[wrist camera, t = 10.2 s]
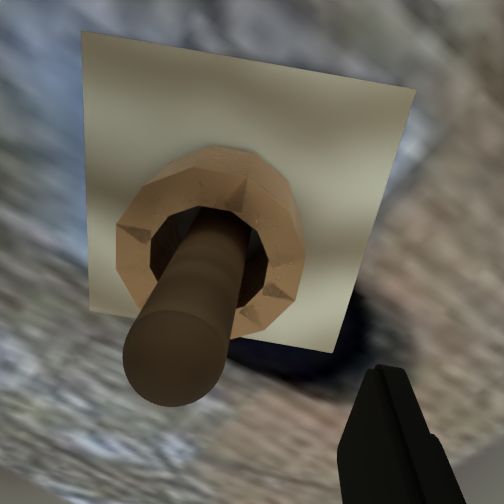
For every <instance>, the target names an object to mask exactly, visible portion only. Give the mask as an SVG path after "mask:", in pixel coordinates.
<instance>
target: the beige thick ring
mask: <svg viewBox="0 0 504 504" xmlns="http://www.w3.org/2000/svg"><path fill="white" fill-rule="evenodd" d="M198 205H199V206H204V207H210V208H216V209H221V210H227V211H232V212H233V213H234V214H236V215H237V216H238V217H240V218H241V219H242V220H243V221H245V222H246V223H247V224H248V225H250V226H251V227H252V228H254V229H255V230H256V231H257V232H258V234H259V236H260V239H261V241H262V244H263V246H264V248H263V250H262V251H261V252H260V253H259V254H258V255H257V256H256V257H255V258H254V259H253V260H252V261H250V262H247V263H245V266H244V271H243V276H242V281H241V286H240V291H239V296H238V301H237V306H236V311H235V316H234V321H233V326H232V331H231V336H230V339H233V338H237V337H241V336H245V335H248V334H252V333H256V332H260V331H263V330H265V329H266V328H267V327H268V326H269V325H270V324H271V323H272V322H273V321H274V320H276V319H277V318H278V317H279V316H280V315H281V314H282V313H283V312H284V311H285V310H286V309H287V308H288V307H289V306H290V305H291V304H292V303H293V302H295V301H296V296H297V292H298V288H299V284H300V280H301V276H302V272H303V268H304V264H305V260H306V252H305V244H304V235H303V227H302V219H301V216H300V213H299V210H298V207H297V205H296V202H295V199H294V196H293V193H292V190H291V187H290V184H289V181H288V180H287V179H285V178H284V177H283V176H282V175H281V174H279V173H278V172H277V171H276V170H275V169H273V168H272V167H271V166H270V165H269V164H268V163H266V162H265V161H264V160H263V159H262V158H260V157H259V156H258V155H257V154H256V153H252V152H246V151H240V150H235V149H229V148H223V147H218V146H209V147H207V148H204V149H202V150H199V151H196V152H194V153H191V154H189V155H186V156H183V157H181V158H178V159H176V160H173V161H172V162H170V163H169V164H168V165H167V166H166V167H164V168H163V169H162V170H161V171H160V172H159V173H157V174H156V175H155V176H154V177H153V178H151V179H150V180H149V181H148V182H147V183H145V184H144V185H143V186H142V188H141V189H140V191H139V192H138V193H137V195H136V196H135V198H134V199H133V201H132V202H131V203H130V205H129V206H128V208H127V209H126V211H125V212H124V213H123V215H122V216H121V218H120V219H119V221H118V222H117V223H116V270H117V272H118V274H119V276H120V277H121V279H122V281H123V282H124V284H125V286H126V288H127V289H128V291H129V293H130V294H131V296H132V298H133V300H134V301H135V303H136V305H137V306H138V308H139V309H140V310H142V308H143V306H144V305H145V303H146V301H147V300H148V298H149V296H150V295H151V293H152V291H153V289H154V288H155V286H156V284H157V283H158V281H159V279H160V278H161V276H162V274H163V272H164V271H165V269H166V267H167V266H168V264H169V262H170V261H171V259H172V257H173V255H174V254H175V252H176V250H177V249H178V247H179V245H180V244H181V242H182V239H181V237H180V235H179V233H178V231H177V229H176V220H177V213H178V212H181V211H184V210H187V209H190V208H193V207H195V206H198Z"/></svg>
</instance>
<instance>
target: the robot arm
mask: <svg viewBox="0 0 504 504" xmlns="http://www.w3.org/2000/svg"><path fill="white" fill-rule="evenodd" d="M337 465H338V472H339V480H340V487H341V495H342V502H343V504H466V502H465V499H464V497H463V495H462V492H461V490H460V487H459V485H458V483H457V480H456V478H455V476H454V473H453V471H452V468H451V466H450V463H449V461H448V459H447V456H446V454H445V451H444V449H443V447H442V445H441V443H440V441H439V439H438V438H437V437H436V436H435V435H434V434H430V432H429V429H428V427H427V424H426V422H425V419H424V417H423V414H422V412H421V409H420V407H419V404H418V402H417V399H416V397H415V394H414V392H413V389H412V387H411V384H410V382H409V379H408V377H407V374H406V372H405V370H404V369H402V368H398V367H393V366H387V365H381V364H377V365H376V366H375V368H374V370H373V369H368V370H367V371H366V373H365V376H364V379H363V381H362V384H361V387H360V389H359V392H358V395H357V397H356V400H355V402H354V405H353V408H352V410H351V413H350V416H349V418H348V421H347V424H346V426H345V429H344V432H343V434H342V437H341V440H340V442H339V445H338V450H337Z"/></svg>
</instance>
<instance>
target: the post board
mask: <svg viewBox="0 0 504 504" xmlns="http://www.w3.org/2000/svg"><path fill="white" fill-rule="evenodd" d="M81 37H82V71H83V104H84V138H85V171H86V205H87V238H88V272H89V305H90V310H91V311H96V312H102V313H108V314H113V315H119V316H125V317H130V318H136V320H135V322H134V323H133V325H132V327H131V329H130V330H129V333H128V335H127V337H126V340H125V343H124V347H123V367H124V371H125V374H126V376H127V379H128V381H129V383H130V384H131V386H132V387H133V388H134V390H135V391H136V392H137V393H138V394H139V395H140V396H141V397H143V398H144V399H146V400H148V401H149V402H151V403H154V404H157V405H160V406H166V407H179V406H184V405H187V404H191V403H193V402H195V401H197V400H199V399H200V398H202V397H203V396H205V395H206V394H207V393H208V392H209V391H210V390H211V389H212V388H213V387H214V386H215V384H216V383H217V381H218V380H219V378H220V376H221V374H222V372H223V369H224V365H225V361H226V356H227V351H228V346H229V341H230V336H231V331H232V326H233V321H234V316H235V311H236V306H237V301H238V296H239V291H240V286H241V281H242V276H243V271H244V266H245V263H247V262H250V261H252V260H253V259H254V258H255V257H256V256H257V255H258V254H259V253H260V252H261V251H262V250H263V248H264V246H263V244H262V241H261V239H260V236H259V234H258V232H257V231H256V230H255V229H254V228H252V227H251V226H250V225H248V224H247V223H246V222H245V221H243V220H242V219H241V218H240V217H238V216H237V215H236V214H234V213H233V212H232V211H227V210H221V209H216V208H210V207H204V206H199V205H198V206H195V207H193V208H190V209H187V210H184V211H181V212H178V213H177V220H176V229H177V231H178V233H179V235H180V237H181V239H182V242H181V244H180V245H179V247H178V249H177V250H176V252H175V254H174V255H173V257H172V259H171V261H170V262H169V264H168V266H167V267H166V269H165V271H164V272H163V274H162V276H161V278H160V279H159V281H158V283H157V284H156V286H155V288H154V289H153V291H152V293H151V295H150V296H149V298H148V300H147V301H146V303H145V305H144V306H143V308H142V310H140V309H139V308H138V306H137V305H136V303H135V301H134V300H133V298H132V296H131V294H130V293H129V291H128V289H127V288H126V286H125V284H124V282H123V281H122V279H121V277H120V276H119V274H118V272H117V270H116V223H117V222H118V221H119V219H120V218H121V216H122V215H123V213H124V212H125V211H126V209H127V208H128V206H129V205H130V203H131V202H132V201H133V199H134V198H135V196H136V195H137V193H138V192H139V191H140V189H141V188H142V186H143V185H144V184H145V183H147V182H148V181H149V180H150V179H151V178H153V177H154V176H155V175H156V174H157V173H159V172H160V171H161V170H162V169H163V168H164V167H166V166H167V165H168V164H169V163H170V162H172V161H173V160H176V159H178V158H181V157H183V156H186V155H189V154H191V153H194V152H196V151H199V150H202V149H204V148H207V147H209V146H218V147H223V148H229V149H235V150H240V151H246V152H252V153H256V154H257V155H258V156H259V157H260V158H262V159H263V160H264V161H265V162H266V163H268V164H269V165H270V166H271V167H272V168H273V169H275V170H276V171H277V172H278V173H279V174H281V175H282V176H283V177H284V178H285V179H287V180H288V181H289V184H290V187H291V190H292V193H293V196H294V199H295V202H296V205H297V207H298V210H299V213H300V216H301V219H302V227H303V235H304V244H305V252H306V260H305V264H304V268H303V272H302V276H301V280H300V284H299V288H298V292H297V296H296V301H295V302H293V303H292V304H291V305H290V306H289V307H288V308H287V309H286V310H285V311H284V312H283V313H282V314H281V315H280V316H279V317H278V318H277V319H276V320H274V321H273V322H272V323H271V324H270V325H269V326H268V327H267V328H266V329H265V330H263V331H260V332H256V333H252V334H248V335H245V336H241V337H244V338H250V339H256V340H261V341H267V342H273V343H278V344H284V345H290V346H295V347H301V348H307V349H312V350H318V351H324V352H329V353H333V350H334V347H335V344H336V341H337V338H338V335H339V331H340V328H341V325H342V322H343V319H344V316H345V313H346V309H347V306H348V303H349V300H350V297H351V294H352V291H353V287H354V284H355V281H356V278H357V275H358V272H359V269H360V266H361V262H362V259H363V256H364V253H365V250H366V247H367V244H368V240H369V237H370V234H371V231H372V228H373V225H374V222H375V219H376V215H377V212H378V209H379V206H380V203H381V200H382V197H383V193H384V190H385V187H386V184H387V181H388V178H389V175H390V171H391V168H392V165H393V162H394V159H395V156H396V153H397V150H398V146H399V143H400V140H401V137H402V134H403V131H404V128H405V124H406V121H407V118H408V115H409V112H410V109H411V106H412V103H413V99H414V96H415V93H416V89H411V88H405V87H399V86H394V85H388V84H382V83H377V82H371V81H365V80H360V79H354V78H348V77H343V76H337V75H331V74H326V73H320V72H314V71H309V70H303V69H297V68H292V67H286V66H281V65H275V64H269V63H264V62H258V61H252V60H247V59H241V58H235V57H230V56H224V55H218V54H213V53H207V52H201V51H196V50H190V49H184V48H179V47H173V46H167V45H162V44H156V43H150V42H145V41H139V40H134V39H128V38H122V37H117V36H111V35H105V34H100V33H94V32H88V31H83V30H81Z"/></svg>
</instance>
